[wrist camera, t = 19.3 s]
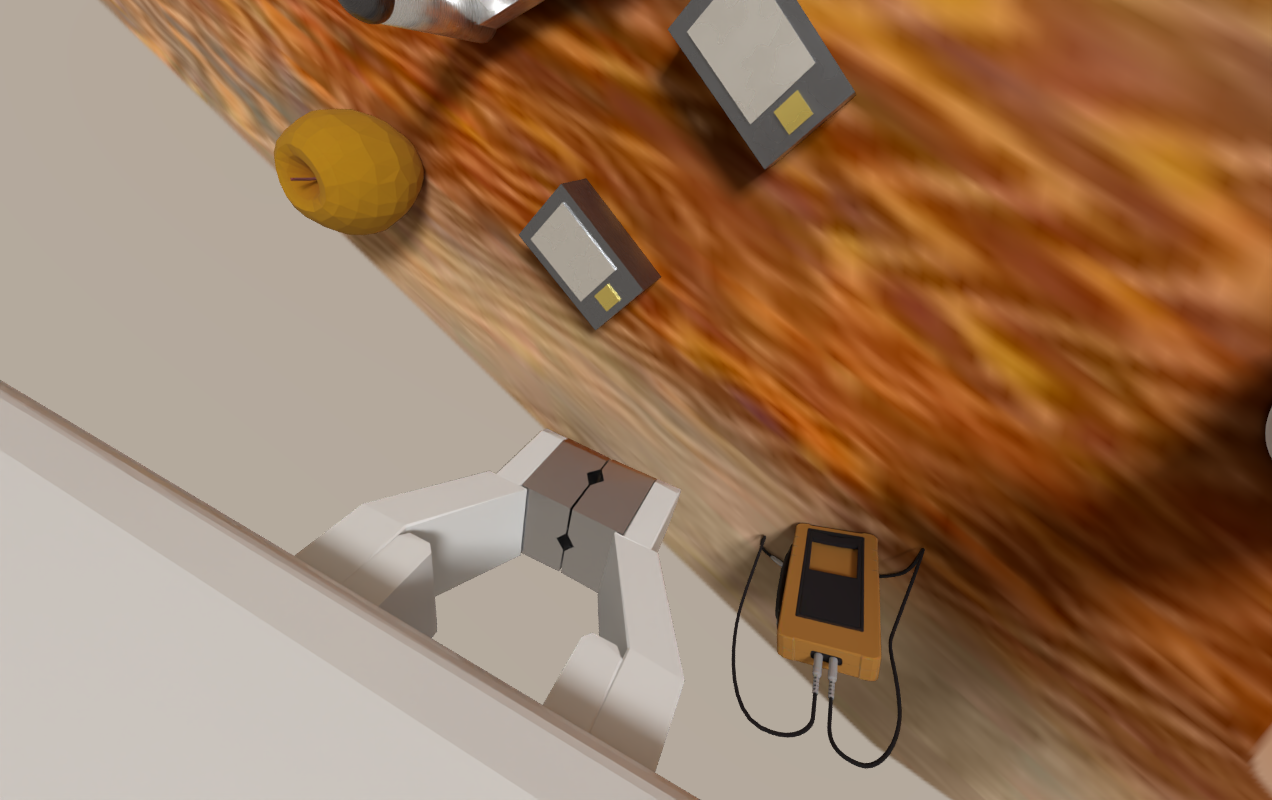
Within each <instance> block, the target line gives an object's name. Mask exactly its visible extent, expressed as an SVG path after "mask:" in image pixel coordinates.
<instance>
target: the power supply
mask: <svg viewBox="0 0 1272 800" xmlns="http://www.w3.org/2000/svg"><path fill="white" fill-rule="evenodd" d="M519 236H520V237H521V238H522V240H523V241H524V242H525V243H526V245H527V246H528V247H529V248H530V250H531V251H532V252H533V253H534V255H535V256H536V257H537V258H538V260H539V261H540V262H541V263H542V265H543V266H544V267H545V268H546V269H547V271H548V272H549V273H550V274H551V276H552V277H553V278H554V279H555V281H556V282H557V283H558V284H559V286H560V287H561V288H562V289H563V291H564V292H565V293H566V294H567V296H568V297H569V298H570V299H571V301H572V302H573V303H574V304H575V306H576V307H577V308H578V309H579V310H580V312H581V313H582V314H583V315H584V317H585V318H586V319H587V320H588V322H589V323H590V324H591V325H592V327H593V328H594V329H595V330H597V329H598V328H599V327H600V326H602V325H603V324H604V323H606V322H607V321H608V320H609V319H611V318H612V317H613V316H614V315H616V314H617V313H618V312H619V311H621V310H622V309H623V308H624V307H625V306H627V305H628V304H629V303H630V302H631V301H633V300H634V299H635V298H636V297H638V296H639V295H640V294H641V293H642V292H644V291H645V290H646V289H647V288H648V287H650V286H651V285H652V284H653V283H654V282H656V281H657V280H658V279H659V278H661V276H660V275H659V273H658V272H657V271H656V270H655V268H654V267H653V266H652V264H651V263H650V262H649V260H648V259H647V258H646V256H645V255H644V254H643V252H642V251H641V250H640V249H639V247H638V246H637V245H636V243H635V242H634V241H633V239H632V238H631V237H630V235H629V234H628V233H627V231H626V230H625V229H624V228H623V226H622V225H621V224H620V222H619V221H618V220H617V218H616V217H615V216H614V214H613V213H612V212H611V210H610V209H609V208H608V206H607V205H606V204H605V203H604V201H603V200H602V199H601V197H600V196H599V195H598V193H597V192H596V191H595V189H594V188H593V187H592V185H591V184H590V183H589V182H588V180H587V179H582V180H577V181H572V182H568V183H563V184H561V185H560V186H559V187H558V188H557V190H556V191H555V192H554V193H553V194H552V196H551V197H550V198H549V199H548V200H547V202H546V203H545V204H544V205H543V206H542V208H541V209H540V210H539V211H538V212H537V214H536V215H535V216H534V217H533V218H532V220H531V221H530V222H529V223H528V224H527V226H526V227H525V228H524V229H523V230H522V232H521V233H520V234H519Z"/></svg>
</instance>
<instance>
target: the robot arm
mask: <svg viewBox="0 0 1272 800" xmlns="http://www.w3.org/2000/svg"><path fill="white" fill-rule="evenodd" d="M1265 436H1266V444H1267V448H1268V451H1269V454H1270V456H1271V458H1272V407H1271V410H1270V412H1269V415H1268V418H1267V423H1266V431H1265ZM680 493H681V490H680V489H679V488H677V487H675V486H672V485H670V484H668V483H665V482H663V481H661V480H658V479H656V478H653V477H651V476H649V475H647V474H644V473H642V472H640V471H638V470H635V469H633V468H631V467H629V466H626V465H624V464H622V463H620V462H617V461H615V460H611V459H610V458H608V457H606V456H604V455H602V454H600V453H598V452H596V451H594V450H591V449H589V448H587V447H585V446H583V445H581V444H579V443H577V442H575V441H573V440H571V439H569V438H568V439H567V438H565V437H563V436H561V435H559V434H557V433H555V432H553V431H551V430H549V429H545V430H543V431H540V432H539V433H538V434H537V435H536V436H535V437H534V438H533V439H532V440H531V441H530V442H529V443H528V444H527V445H525V446H524V447H523V448H522V449H521V450H520V451H519V452H518V453H517V454H516V455H515V456H514V457H513V458H512V459H511V460H510V461H509V462H508V463H507V464H505V466H504V467H502V468H501V469H500V470H499V472H497V473H494V472H492V471H486V472H483V473H479V474H475V475H471V476H467V477H463V478H459V479H456V480H452V481H448V482H444V483H440V484H437V485H433V486H429V487H425V488H421V489H417V490H414V491H410V492H406V493H402V494H398V495H395V496H391V497H387V498H383V499H379V500H375V501H371V502H368V503H364V504H362V505H360V506H359V507H358V508H356V509H355V510H354V511H353V512H351V513H350V514H349V515H347V516H346V517H345V518H343V519H342V520H341V521H339V522H338V523H337V524H335V525H334V526H333V527H332V528H330V529H329V530H328V531H326V532H325V533H324V534H322V535H321V536H320V537H318V538H317V539H316V540H314V541H313V542H312V543H310V544H309V545H308V546H306V547H305V548H304V549H302V550H301V551H300V552H299V553H297V554H296V555H295V556H293V555H292V554H290V553H288V552H286V551H285V550H283V549H282V548H280V547H278V546H276V545H275V544H273V543H271V542H270V541H268V540H266V539H265V538H263V537H261V536H260V535H258V534H256V533H255V532H253V531H251V530H250V529H248V528H246V527H245V526H243V525H241V524H240V523H238V522H236V521H235V520H233V519H231V518H229V517H228V516H226V515H225V514H223V513H221V512H220V511H218V510H216V509H215V508H213V507H211V506H209V505H208V504H206V503H205V502H203V501H201V500H199V499H198V498H196V497H195V496H193V495H191V494H189V493H188V492H186V491H185V490H183V489H181V488H179V487H178V486H176V485H175V484H173V483H171V482H170V481H168V480H166V479H165V478H163V477H161V476H160V475H158V474H156V473H155V472H153V471H151V470H150V469H148V468H146V467H145V466H143V465H141V464H140V463H138V462H136V461H135V460H133V459H131V458H129V457H128V456H126V455H125V454H123V453H121V452H120V451H118V450H116V449H114V448H113V447H111V446H110V445H108V444H106V443H105V442H103V441H101V440H100V439H98V438H96V437H94V436H93V435H91V434H90V433H88V432H86V431H85V430H83V429H81V428H79V427H78V426H76V425H74V424H73V423H71V422H70V421H68V420H66V419H64V418H63V417H61V416H60V415H58V414H56V413H55V412H53V411H51V410H49V409H48V408H46V407H45V406H43V405H41V404H40V403H38V402H36V401H34V400H33V399H31V398H30V397H28V396H26V395H25V394H23V393H21V392H20V391H18V390H16V389H15V388H13V387H11V386H9V385H8V384H6V383H5V382H3V381H1V380H0V800H700V799H698V798H696V797H695V796H693V795H691V794H690V793H688V792H686V791H685V790H683V789H681V788H680V787H678V786H676V785H675V784H673V783H671V782H670V781H668V780H666V779H665V778H663V777H661V776H660V775H658V774H656V773H655V771H656V768H657V765H658V762H659V758H660V756H661V753H662V749H663V746H664V743H665V740H666V737H667V734H668V731H669V728H670V725H671V722H672V719H673V715H674V712H675V709H676V706H677V703H678V700H679V697H680V694H681V691H682V688H683V684H684V675H683V670H682V666H681V660H680V656H679V651H678V646H677V641H676V636H675V632H674V626H673V622H672V617H671V612H670V608H669V602H668V598H667V593H666V588H665V583H664V578H663V573H662V568H661V564H660V559H659V554H658V550H659V548H660V545H661V543H662V541H663V538H664V536H665V533H666V531H667V528H668V526H669V523H670V520H671V518H672V515H673V512H674V510H675V507H676V504H677V502H678V499H679V496H680ZM521 553H523V554H525V555H527V556H529V557H531V558H533V559H535V560H537V561H539V562H541V563H543V564H545V565H547V566H549V567H551V568H553V569H555V570H558V571H559V570H560V569H561V568H562V570H561V573H563V574H565V575H567V576H568V577H570V578H572V579H574V580H576V581H577V582H580V583H581V584H583V585H585V586H586V587H588V588H590V589H592V590H594V591H595V592H597V593H598V616H599V636H598V635H596V634H594V633H590V634H587V635H585V636H582V637H581V639H580V641H579V642H578V644H577V646H576V648H575V649H574V651H573V653H572V655H571V656H570V658H569V660H568V662H567V663H566V665H565V667H564V669H563V670H562V672H561V674H560V676H559V677H558V679H557V681H556V683H555V684H554V686H553V688H552V690H551V692H550V693H549V695H548V697H547V699H546V700H545V702H544V704H543V705H541V704H540V703H538V702H537V701H535V700H533V699H532V698H530V697H528V696H527V695H525V694H523V693H522V692H520V691H518V690H517V689H515V688H513V687H512V686H510V685H508V684H506V683H505V682H503V681H501V680H500V679H498V678H497V677H495V676H493V675H492V674H490V673H488V672H487V671H485V670H483V669H482V668H480V667H478V666H477V665H475V664H473V663H471V662H470V661H468V660H467V659H465V658H463V657H461V656H460V655H458V654H457V653H454V652H453V651H452V650H450V649H448V648H446V647H445V646H443V645H442V644H440V643H438V642H437V641H435V640H433V639H432V637H433V636H434V634H435V633H436V632H437V619H436V606H435V596H437V595H439V594H441V593H443V592H445V591H448V590H450V589H452V588H454V587H456V586H458V585H460V584H462V583H464V582H466V581H468V580H470V579H472V578H474V577H477V576H478V575H481V574H483V573H485V572H487V571H489V570H491V569H493V568H495V567H497V566H499V565H501V564H503V563H505V562H507V561H509V560H511V559H513V558H516V557H518V556H520V554H521Z"/></svg>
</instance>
